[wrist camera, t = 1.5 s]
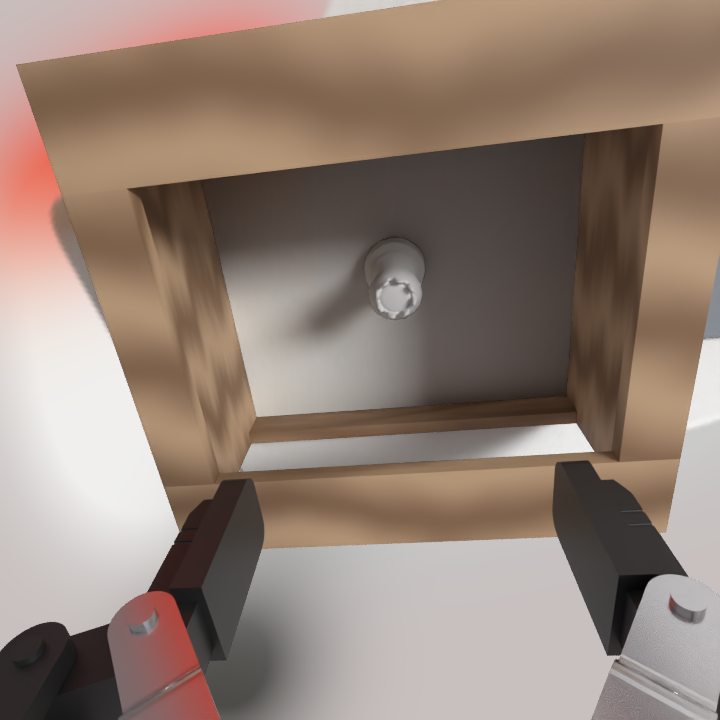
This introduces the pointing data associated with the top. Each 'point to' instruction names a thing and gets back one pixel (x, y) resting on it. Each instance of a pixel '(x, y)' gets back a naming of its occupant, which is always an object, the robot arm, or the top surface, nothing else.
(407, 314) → the rook chess piece
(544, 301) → the top surface
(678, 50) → the box
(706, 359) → the top surface
